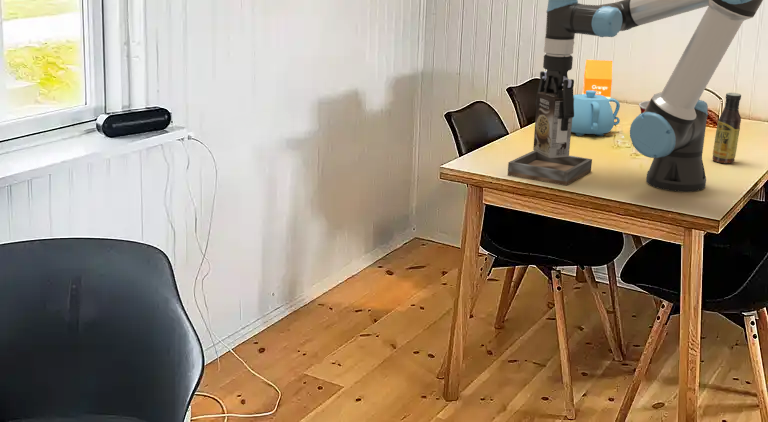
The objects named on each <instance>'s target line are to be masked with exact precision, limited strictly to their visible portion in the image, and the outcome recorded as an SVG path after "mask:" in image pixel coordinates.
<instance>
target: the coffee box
mask: <svg viewBox="0 0 768 422" xmlns="http://www.w3.org/2000/svg"><path fill="white" fill-rule="evenodd" d="M536 98H537V104H536V103H535V106H536V107H535V109H536V110H535V118H534V134H533V135H534V137H533V147H532V148H533V149H532V151H536V152H538V153H540V154H542V155H544V156H546V157H548V158H558V157H569V156H570V147H571V135H572V132H571V127H572V118H569V120H568V130H567V142H563V143H557V142H556V137H557V125H558V117H559V116H560V114H559V107H560V102H561V101H563V98H557V96H556V94H555V93H545V92H538V91H537V92H536ZM563 114H564V113H563Z"/></svg>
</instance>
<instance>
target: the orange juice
mask: <svg viewBox="0 0 768 422" xmlns="http://www.w3.org/2000/svg"><path fill="white" fill-rule="evenodd" d="M612 83H613V60H604V59H603V60H602V59H600V60H599V59H598V60H597V59H586V60H585V67H584V73H583V84H582V85H583V86H582V94H586V91H587V90H594V91H596V94H595V95H603V96H605V97H606V98H607V99H609V98H612V97H611V95H612V85H613V84H612ZM609 103H610V104H611V102H609Z"/></svg>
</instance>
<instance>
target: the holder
mask: <svg viewBox="0 0 768 422" xmlns="http://www.w3.org/2000/svg"><path fill="white" fill-rule="evenodd" d="M592 164H593V159H592V158H587V157H582V156H581V157H580V156H575V155H569V157H558V158H548V157H546V156H544V155H542V154H540V153H538V152H536V151H534V150H532V151H530V152H528V153H525V154H522V155H521V156H519V157H517V158H515V159H512V160H511V161H509V162H508V164H507V176H511V175H512V177H517V178H522V179H528V180H535V181H539V182H540V181H541V182H545V183H550V184H551V183H552V184H556V185H562V186H569V184H572V183H574V182H575V181H577V180H579V179H580V178H583V177H584V176H586V175H588V174H589V173H591V172H592Z"/></svg>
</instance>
